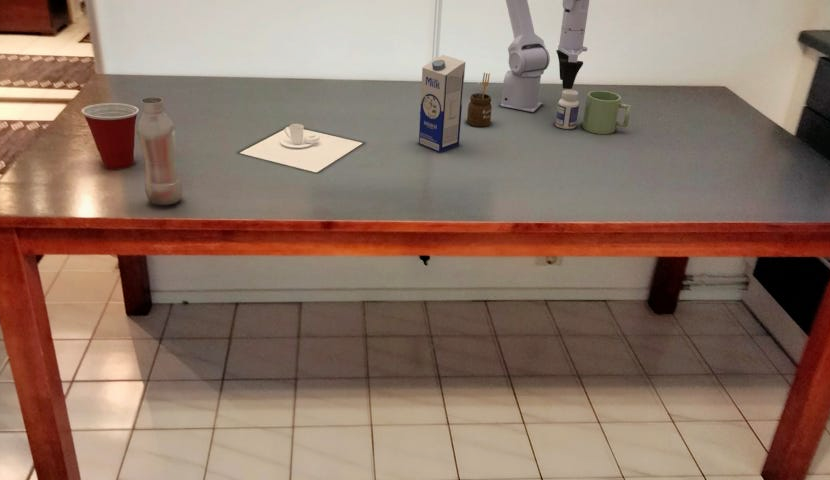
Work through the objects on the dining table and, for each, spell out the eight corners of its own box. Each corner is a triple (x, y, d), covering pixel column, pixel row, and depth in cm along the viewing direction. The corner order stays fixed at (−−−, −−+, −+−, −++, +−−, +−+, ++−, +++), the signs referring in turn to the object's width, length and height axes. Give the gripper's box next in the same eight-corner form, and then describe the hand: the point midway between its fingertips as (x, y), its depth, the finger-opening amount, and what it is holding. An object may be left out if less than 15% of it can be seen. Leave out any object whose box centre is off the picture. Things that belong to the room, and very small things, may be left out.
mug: (579, 130, 192) (584, 97, 188) (586, 120, 199) (591, 88, 194) (622, 138, 189) (629, 105, 184) (628, 128, 195) (635, 96, 191)
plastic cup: (157, 159, 162) (149, 104, 156) (124, 177, 154) (114, 120, 147) (115, 150, 165) (105, 96, 159) (80, 168, 156) (68, 111, 150)
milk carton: (459, 145, 179) (466, 60, 168) (440, 152, 174) (445, 66, 164) (437, 137, 183) (442, 53, 172) (418, 143, 178) (422, 58, 168)
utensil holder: (463, 124, 191) (467, 77, 185) (471, 117, 196) (475, 71, 190) (485, 128, 189) (490, 81, 183) (493, 121, 194) (498, 74, 188)
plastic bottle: (151, 194, 148) (136, 94, 137) (187, 194, 149) (174, 95, 138) (143, 209, 142) (127, 105, 132) (180, 209, 143) (167, 106, 133)
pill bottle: (575, 123, 196) (580, 89, 192) (576, 130, 192) (581, 96, 187) (554, 121, 197) (559, 87, 192) (555, 128, 192) (560, 94, 188)
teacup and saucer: (324, 141, 176) (324, 124, 174) (305, 152, 170) (305, 135, 167) (292, 134, 179) (291, 117, 177) (272, 144, 173) (271, 127, 170)
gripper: (593, 36, 177) (585, 93, 184) (586, 22, 189) (578, 76, 196) (563, 34, 177) (555, 91, 184) (558, 21, 189) (551, 75, 196)
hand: (565, 84), depth 190 cm, fingers open, 7 cm apart
